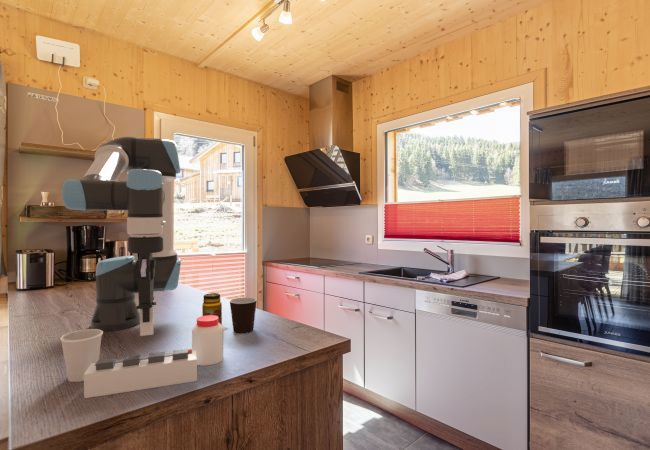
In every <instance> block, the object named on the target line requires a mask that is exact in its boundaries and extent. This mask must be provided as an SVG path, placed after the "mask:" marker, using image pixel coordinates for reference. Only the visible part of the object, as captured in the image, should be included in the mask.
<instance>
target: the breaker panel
mask: <svg viewBox="0 0 650 450" xmlns="http://www.w3.org/2000/svg"><path fill="white" fill-rule="evenodd" d="M197 381H198V365H197V353H196V350H193V351H192V348H184V349H183V348H182V349H175V350H172V352H169V353H166V352H165V351H158V352H151V353H150V352H149V354H148V355H144V356H141V354H134V355H128V356H125V355H124V357H123V358H120V359H116V357H110V358H102V359H99V360H98V361H97V362H96V363H91V364H90V366H89V367H88V369H87V370H86V372H85V373H84V381H83V399H89V398H97V397H102V396H109V395H114V394H122V393H128V392H133V391H142V390H147V389H153V388H159V387H160V388H162V387H167V386H173V385H179V384H181V385H182V384H185V383H193V382H197Z"/></svg>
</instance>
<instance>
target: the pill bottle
mask: <svg viewBox="0 0 650 450" xmlns="http://www.w3.org/2000/svg"><path fill="white" fill-rule="evenodd" d="M223 327H224V326H223V324H222V325H221V324H220V323H219V317H218V316H215V315H207V316H203V315H202V316H198V317H197V318H196V324H195V325H194V326H193V328H192V329H191V338H192V339H191V341H192V342H191V346H192V347H191V349H192V351H193V350H196V353H197V366H201V367H202V366H211V365H212V366H213V365H215V364H218V363H220V362H222V361H223V360H224V330H223Z"/></svg>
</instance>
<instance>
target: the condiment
mask: <svg viewBox="0 0 650 450" xmlns="http://www.w3.org/2000/svg"><path fill="white" fill-rule="evenodd" d="M222 304H223V303H222V302H221V294H220V293H219V292H218V293H217V292H214V293H213V292H211V293H205V294H204V295H203V303H202V306H201V308H202V310H201V311H202V312H201V313H202V316H207V315H215V316H218V317H219V323H220V324H221V325H222V326H223V312H222V310H223V309H222V308H223V307H222V306H223V305H222ZM224 330H227V327H224V326H223V331H224Z"/></svg>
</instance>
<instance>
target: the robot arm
mask: <svg viewBox="0 0 650 450" xmlns="http://www.w3.org/2000/svg"><path fill="white" fill-rule="evenodd" d="M179 160H180V158H179V154H178V147H177V143H176V142H175V141H174V140H171V139H166V138H165V139H164V138H153V137H135V136H122V137H121V136H120V137H118V138H114V139H111V140H109V141H107V142H106V141H105V143H103V144H102V145H101V146H99V147H98V148H97V150H96V151H95V153H94V161H93V162H92V163H91V165H90V167H89V168H88V170H86V172H85V174H84V175H83V177H82V178H81V179H79V178H75V179H74V178H73V179H66V180H64V182H63V183H62V187H61V198H62V202H63V205H64V207H65V208H66V209H67V210H73V211H75V210H76V211H82V212H85V211H127V217H126V227H127V228H126V233H127V234H128V235H130V236H129V237H128V238H127V252H128V253H129V254H139V255H138V259H136V257H135V256H134V255H123V256H117V257H116V256H115V257H111V258H107V259H106V258H105V259H103V260H100V261H98V262H97V264H96V265H95V266H96V267H95V296H96V297H95V298H96V299H95V300H96V304H95V307H94V309H93V313H92V316H91V318H90V324H89V326H90V328H89V329H99V330H102V331H103V332H105V331H106V332H108V331H110V332H111V331H118V330H123V329H124V330H125V329H128V328H131V327H135V326H137V325H139V337H143V336H151V335H154V306H157V301H154V300H155V296H154V292H167V291H173V290H176V289H177V288H178V287H179V279H180V272H181V264H182V263H181V262H182V259H181V258H180V257H178V253H177V252H176V251H175V250H174V249H173V204H172V203H173V200H172V199H173V196H172V194H173V190H172V189H173V187H172V185H173V182H174V181H175V180H176V179H177V174H180V173H181V168H180V161H179ZM124 171H125V172H127V174H126V180H119V178H120V176H121V174H122V173H123V172H124ZM137 293H138V304H137V302H136V294H137Z"/></svg>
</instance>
